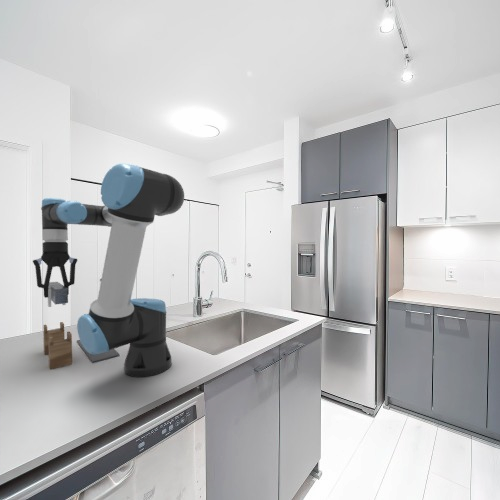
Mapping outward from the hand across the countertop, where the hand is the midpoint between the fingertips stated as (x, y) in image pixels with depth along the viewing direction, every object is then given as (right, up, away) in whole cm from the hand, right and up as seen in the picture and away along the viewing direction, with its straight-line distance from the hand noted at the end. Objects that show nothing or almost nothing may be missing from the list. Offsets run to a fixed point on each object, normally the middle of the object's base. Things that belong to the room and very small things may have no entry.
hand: (56, 305), depth 99 cm
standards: (0, -19, +1) cm, 19 cm away
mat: (+9, -19, +9) cm, 23 cm away
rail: (0, +2, 0) cm, 2 cm away
